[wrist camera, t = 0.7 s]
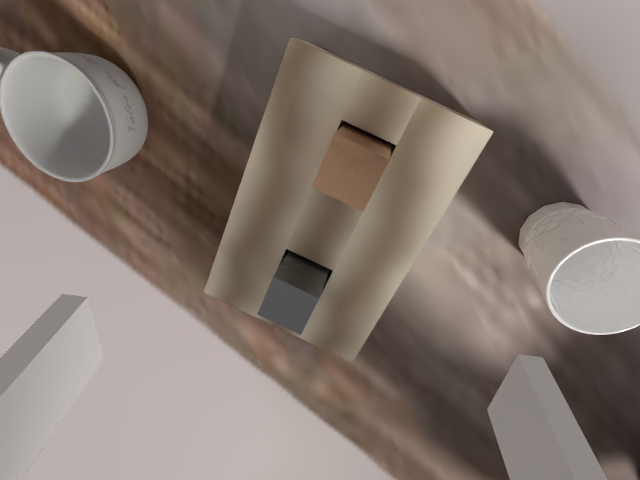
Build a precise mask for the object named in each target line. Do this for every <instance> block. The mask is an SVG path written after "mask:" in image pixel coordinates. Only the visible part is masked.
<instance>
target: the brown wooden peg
mask: <svg viewBox="0 0 640 480" xmlns="http://www.w3.org/2000/svg"><path fill="white" fill-rule="evenodd" d="M391 146H392V144H390V143H388V142H386V141H384V140H382V139H379V138H377V137H375V136H373V135H371V134H369V133H367V132H365V131H362V130H360V129H358V128H356V127H354V126H352V125H350V124H347V123H345V124H344V125H343V126H342V127H341V128H340V129H339V130H338V131H336V132H335V133H334V135H333V138H332V140H331V142H330V145H329V147H328V149H327V152H326V154H325V157H324V159H323V161H322V164H321V166H320V168H319V171H318V173H317V175H316V178H315V180H314V182H313V185H312V188H314V189H316V190H319V191H321V192H323V193H325V194H327V195H329V196H331V197H333V198H336V199H338V200H340V201H342V202H344V203H346V204H348V205H350V206H353V207H355V208H357V209H359V210H361V211H363V212H364V210H365V208H366V206H367V204H368V202H369V200H370V198H371V196H372V194H373V192H374V190H375V188H376V186H377V184H378V182H379V180H380V178H381V176H382V174H383V172H384V170H385V168H386V166H387V164H388V162H389V160H390V155H391Z"/></svg>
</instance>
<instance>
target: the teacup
mask: <svg viewBox="0 0 640 480" xmlns="http://www.w3.org/2000/svg"><path fill="white" fill-rule="evenodd" d="M0 109H1V114H2V118H3V120H4V123H5V125H6V128H7V130H8V132H9V134H10V135H11V137H12V139H13V141H14V142H15V144H16V145H17V147H18V148H19V149H20V151H21V152H22V153H23V154H24V155H25V156H26V158H27V159H28V160H29V161H30V162H32V163H33V164H34V165H35V166H36V167H38V168H39V169H40V170H42V171H43V172H45V173H47V174H48V175H50V176H52V177H55V178H57V179H60V180H64V181H69V182H84V181H87V180H90V179H92V178H95V177H96V176H98V175H99V174H101V173H103V172H106V171H108V170H111V169H113V168H115V167H117V166H119V165H121V164H123V163H125V162H127V161H128V160H130V159H131V158H133V157H134V156H135V155H136V154H137V153H138V152H139V151H140V149H141V148H142V146H143V144H144V142H145V140H146V136H147V132H148V114H147V109H146V106H145V102H144V100H143V97H142V95H141V93H140V91H139V90H138V88H137V86H136V85H135V84H134V82H133V81H132V80H131V78H130V77H129V76H128V75H127V74H126V73H125V72H124V71H123V70H121V69H120V68H119V67H117V66H116V65H115V64H113V63H111V62H110V61H108V60H106V59H103V58H101V57H98V56H94V55H90V54H84V53H71V52H48V51H28V52H24V53H22V54H20V53H17V52H15V51H13V50H10V49H7V48H3V47H0Z"/></svg>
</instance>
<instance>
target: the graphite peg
mask: <svg viewBox="0 0 640 480" xmlns="http://www.w3.org/2000/svg"><path fill="white" fill-rule="evenodd" d="M329 270H330V269H328V268H326V267H324V266H322V265H320V264H318V263H316V262H313V261H311V260H309V259H307V258H305V257H303V256H301V255H299V254H296V253H294V252H292V251H290V250H289V252H288V254H287V255H286V257H285V258H284V260H283V262H282V263H281V265H280V267H279V268H278V270H277V271H276V273H275V275H274V276H273V278H272V281H271V283H270V285H269V288H268V290H267V292H266V295H265V297H264V299H263V302H262V304H261V306H260V309H259V311H258V313H257V315H259V316H262V317H264V318H266V319H268V320H270V321H272V322H274V323H276V324H279V325H281V326H283V327H285V328H287V329H289V330H291V331H293V332H296V333H298V334H300V335H301V334H302V332H303V330H304V328H305V326H306V324H307V322H308V320H309V318H310V316H311V314H312V312H313V310H314V308H315V306H316V304H317V302H318V300H319V298H320V295H321V293H322V290H323V287H324V284H325V281H326V279H327V276H328V273H329Z"/></svg>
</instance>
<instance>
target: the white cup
mask: <svg viewBox="0 0 640 480" xmlns="http://www.w3.org/2000/svg"><path fill="white" fill-rule="evenodd" d="M518 245H519V247H520V249H521V251H522V253H523V255H524V258H525V259H526V264H527V266H528V268H529V271H530V273H531V275H532V277H533V279H534V280H535V282H536V284H537V286H538V288H539V290H540V292H541V294H542V295H543V297H544V299H545V301H546V303H547V305H548V307H549V309H550V311H551V312H552V314H553V315H554V316H555V317H556V319H557V320H559V321H560V322H561V323H562V324H564V325H565V326H567V327H569V328H571V329H573V330H575V331H578V332H582V333H586V334H594V335H606V334H615V333H620V332H624V331H627V330H630V329H632V328H635V327H637V326H639V325H640V238H639V237H638V236H636V235H634V234H633V233H631V232H629V231H627V230H626V229H624V228H623V227H621V226H619V225H617V224H616V223H614V222H612V221H610V220H608V219H606V218H605V217H603V216H601V215H599V214H596V213H594V212H591V211H590V210H588V209H586V208H585V207H583V206H582V205H579V204H573V203H567V202H559V203H554V204H550V205H545V206H543V207H542V208H540V209H539V210H537V211H535V212H534V213H533V214H531V215H530V216H529V217H528V218H527V220H526V221H525V223H524V224H523V226H522V227H521V229H520V234H519V243H518Z"/></svg>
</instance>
